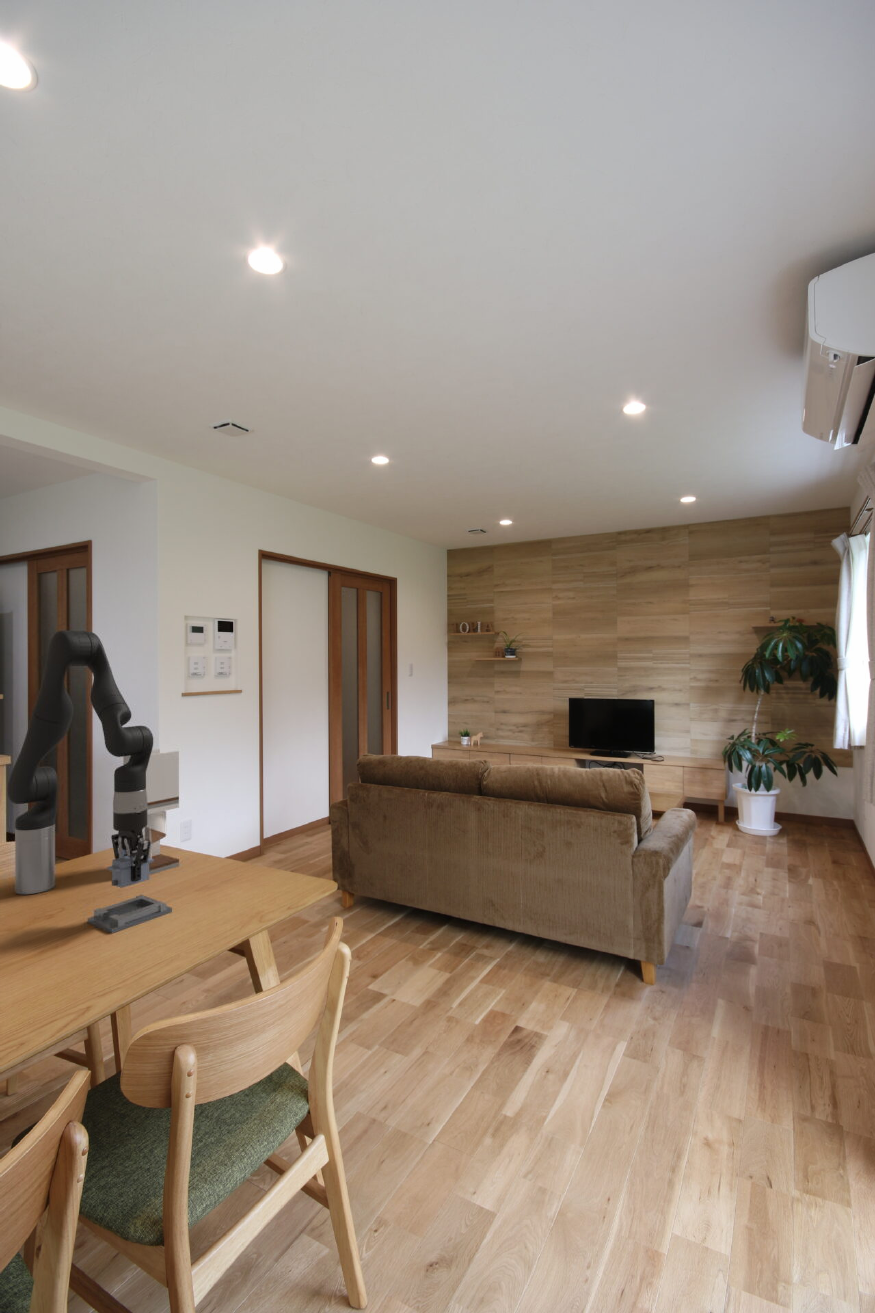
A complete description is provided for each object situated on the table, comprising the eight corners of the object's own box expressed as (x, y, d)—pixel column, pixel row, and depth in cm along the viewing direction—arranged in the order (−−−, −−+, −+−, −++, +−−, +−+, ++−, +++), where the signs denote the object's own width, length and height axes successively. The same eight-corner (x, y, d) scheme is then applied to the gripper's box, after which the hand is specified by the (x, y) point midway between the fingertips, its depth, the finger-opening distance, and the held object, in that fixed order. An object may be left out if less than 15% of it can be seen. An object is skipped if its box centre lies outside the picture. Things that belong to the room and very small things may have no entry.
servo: (116, 889, 148) (116, 859, 148) (107, 886, 150) (107, 857, 150) (154, 878, 156) (153, 849, 156) (145, 875, 158) (144, 847, 158)
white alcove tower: (144, 876, 183) (143, 755, 183) (123, 870, 188) (123, 753, 189) (179, 865, 192) (178, 751, 193) (158, 860, 198) (158, 749, 198)
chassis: (111, 933, 144) (111, 922, 144) (87, 922, 150) (87, 912, 150) (171, 912, 156) (171, 901, 156) (147, 902, 162) (147, 893, 162)
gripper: (99, 808, 154) (100, 878, 154) (131, 815, 146) (132, 889, 146) (129, 802, 160) (129, 870, 160) (161, 808, 152) (162, 880, 152)
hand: (130, 878), depth 153 cm, fingers closed on servo, 4 cm apart
